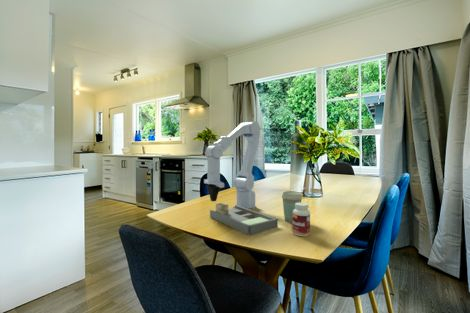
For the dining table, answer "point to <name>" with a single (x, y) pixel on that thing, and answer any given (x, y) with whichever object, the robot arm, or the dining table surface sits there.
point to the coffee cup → (290, 204)
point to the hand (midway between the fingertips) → (213, 200)
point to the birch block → (222, 208)
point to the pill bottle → (301, 220)
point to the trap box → (245, 220)
